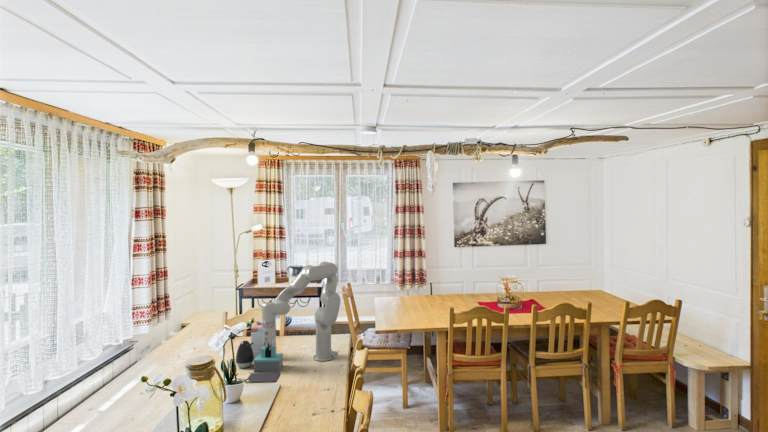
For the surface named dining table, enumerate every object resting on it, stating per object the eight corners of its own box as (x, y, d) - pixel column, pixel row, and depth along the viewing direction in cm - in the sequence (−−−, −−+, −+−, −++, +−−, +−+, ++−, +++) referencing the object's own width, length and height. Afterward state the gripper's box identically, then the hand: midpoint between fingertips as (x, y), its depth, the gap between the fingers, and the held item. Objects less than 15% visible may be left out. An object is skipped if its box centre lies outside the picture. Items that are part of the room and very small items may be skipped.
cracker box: (276, 358, 237) (276, 324, 238) (272, 361, 231) (272, 327, 232) (254, 357, 239) (254, 324, 239) (250, 360, 233) (250, 326, 233)
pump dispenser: (248, 370, 218) (248, 343, 218) (231, 369, 220) (232, 342, 220) (257, 364, 228) (257, 338, 228) (241, 362, 230) (242, 337, 230)
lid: (258, 357, 225) (258, 345, 225) (283, 356, 226) (283, 344, 226) (253, 364, 214) (253, 351, 214) (279, 363, 215) (279, 350, 215)
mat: (251, 374, 212) (251, 373, 212) (280, 373, 213) (280, 372, 213) (244, 383, 200) (244, 382, 200) (275, 382, 201) (275, 381, 201)
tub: (258, 366, 224) (258, 355, 224) (282, 365, 225) (282, 355, 225) (254, 372, 214) (254, 362, 214) (279, 372, 215) (279, 361, 215)
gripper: (272, 327, 212) (272, 360, 212) (278, 320, 229) (278, 351, 228) (258, 328, 212) (258, 361, 211) (265, 320, 228) (265, 351, 228)
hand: (268, 355), depth 220 cm, fingers closed on lid, 3 cm apart
